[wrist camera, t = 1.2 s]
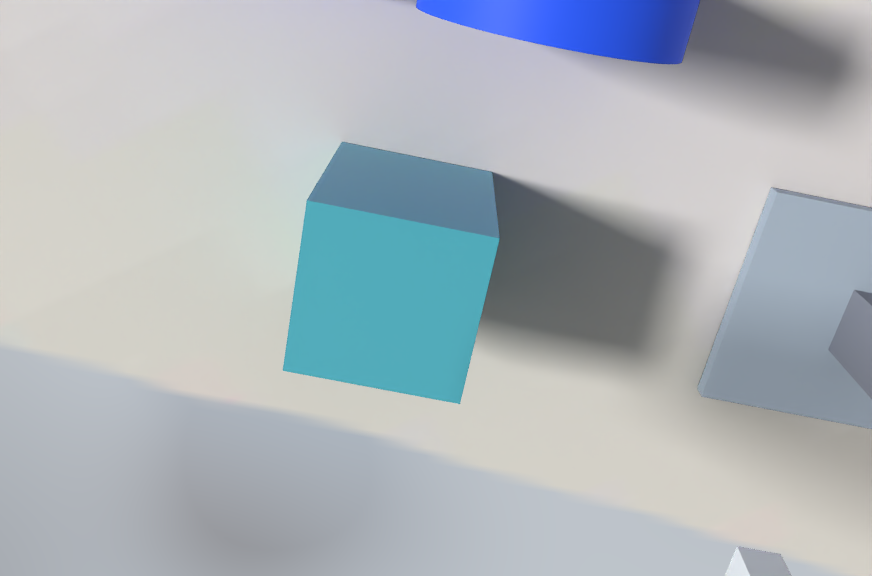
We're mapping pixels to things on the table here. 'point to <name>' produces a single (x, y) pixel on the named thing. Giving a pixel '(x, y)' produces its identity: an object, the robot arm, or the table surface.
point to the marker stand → (800, 314)
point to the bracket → (582, 24)
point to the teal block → (393, 273)
